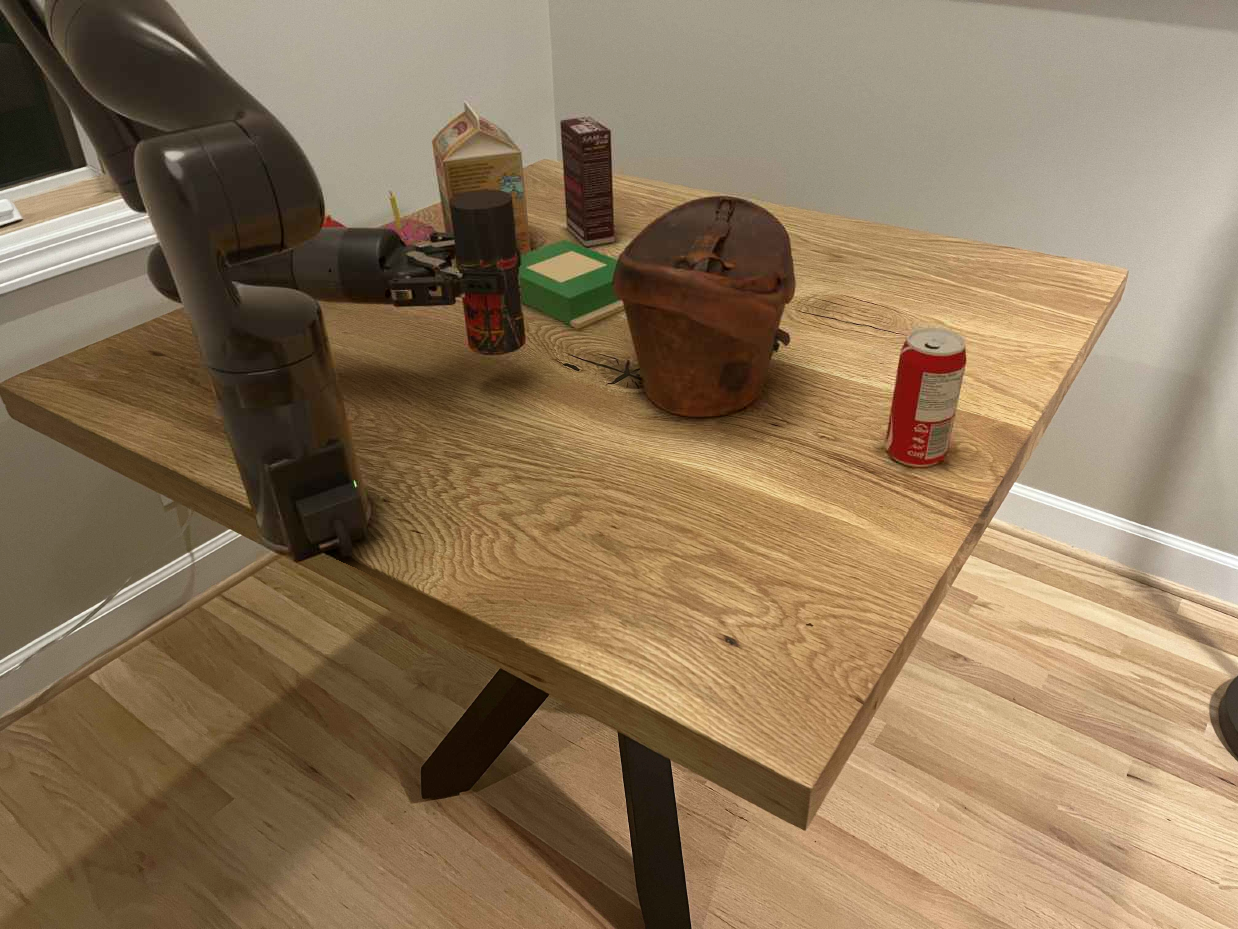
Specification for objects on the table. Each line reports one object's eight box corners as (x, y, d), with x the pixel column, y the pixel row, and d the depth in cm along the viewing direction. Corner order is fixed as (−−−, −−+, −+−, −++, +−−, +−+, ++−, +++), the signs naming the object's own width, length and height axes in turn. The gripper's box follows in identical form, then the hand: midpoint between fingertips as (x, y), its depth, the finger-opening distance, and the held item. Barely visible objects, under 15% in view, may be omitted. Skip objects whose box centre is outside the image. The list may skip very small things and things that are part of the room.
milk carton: (446, 237, 135) (426, 104, 124) (515, 228, 137) (502, 96, 126) (457, 263, 126) (437, 122, 115) (530, 252, 129) (517, 113, 118)
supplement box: (616, 242, 131) (612, 129, 122) (585, 248, 129) (578, 134, 120) (595, 223, 137) (590, 115, 128) (565, 228, 136) (558, 119, 127)
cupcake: (429, 286, 120) (414, 197, 113) (369, 283, 121) (351, 194, 114) (451, 261, 127) (439, 176, 120) (395, 259, 128) (379, 174, 121)
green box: (649, 298, 114) (649, 271, 112) (577, 329, 108) (575, 300, 106) (560, 262, 125) (558, 236, 123) (490, 287, 119) (487, 261, 117)
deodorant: (461, 336, 95) (441, 195, 87) (514, 325, 97) (500, 185, 88) (478, 360, 90) (459, 213, 82) (533, 347, 92) (520, 202, 84)
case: (648, 454, 85) (645, 276, 75) (596, 360, 101) (588, 202, 91) (822, 422, 89) (841, 248, 79) (745, 336, 105) (753, 182, 95)
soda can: (900, 430, 87) (919, 317, 80) (955, 449, 84) (980, 333, 78) (874, 456, 84) (892, 340, 77) (930, 476, 81) (954, 358, 74)
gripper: (313, 256, 83) (491, 260, 81) (369, 205, 95) (525, 208, 93) (330, 331, 87) (500, 336, 85) (381, 273, 99) (531, 276, 97)
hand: (512, 269), depth 89 cm, fingers closed on deodorant, 6 cm apart
